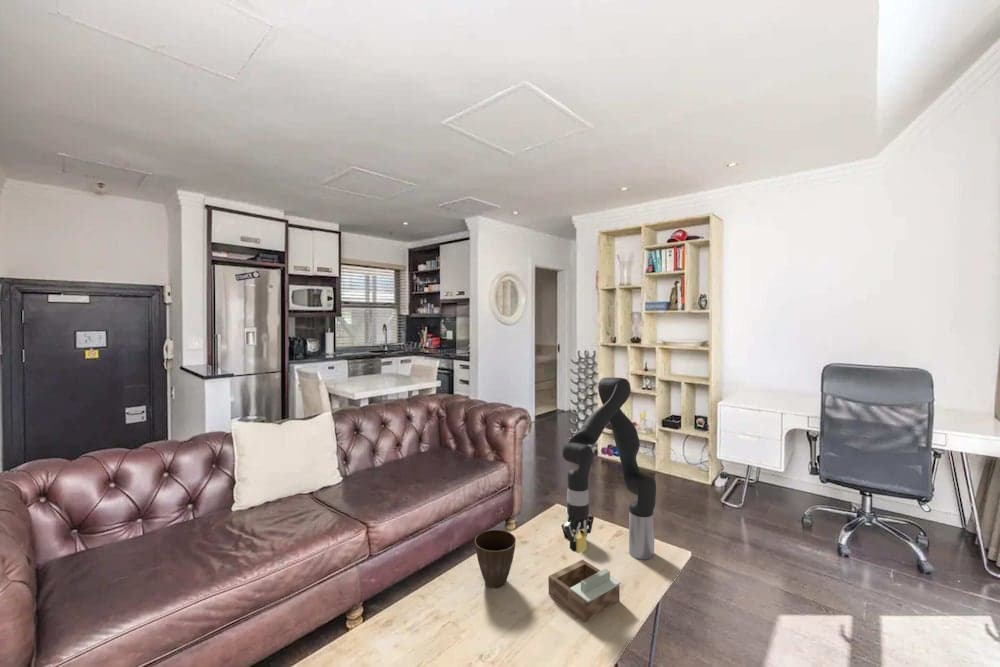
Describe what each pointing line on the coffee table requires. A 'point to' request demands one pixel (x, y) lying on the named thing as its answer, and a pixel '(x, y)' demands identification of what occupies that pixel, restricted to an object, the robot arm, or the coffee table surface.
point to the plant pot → (495, 556)
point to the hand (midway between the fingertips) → (578, 548)
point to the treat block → (580, 542)
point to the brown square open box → (572, 601)
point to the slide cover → (595, 585)
